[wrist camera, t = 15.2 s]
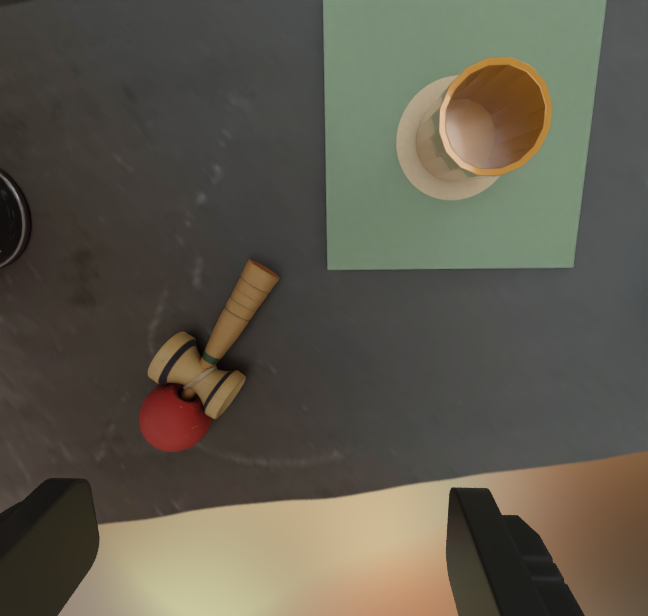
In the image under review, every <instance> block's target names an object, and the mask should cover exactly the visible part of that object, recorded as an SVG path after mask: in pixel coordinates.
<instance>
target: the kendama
mask: <svg viewBox="0 0 648 616" xmlns="http://www.w3.org/2000/svg"><path fill="white" fill-rule="evenodd" d="M279 279H280V278H279V276H278V275H277V274H276V273H274V272H273V271H272V270H270V269H268V268H267V267H265V266H264V265H262V264H260V263H258V262H256V261H254V260H248V261H247V263H246V265H245V268H244V270H243V272H242V274H241V277H240V278H239V280H238V282H237V284H236V287H235V288H234V290H233V292H232V294H231V297H230V298H229V300H228V302H227V303H226V307H224V309H223V311H222V313H221V315H220V317H219V319H218V321H217V323H216V325H215V327H214V329H213V332H212V334H211V336H210V339H209V341H208V343H207V346H206V348H205V351H204V353H203V356H202V358H201V356H200V354H199V352H198V350H197V346H196V340H195V338H194V337H192V336H191V335H189V334H187V333H186V332H183V331H182V332H179V333H177V334H175V335H174V336H172V337H171V338H170V339H169V340H168V341H167V342H166V343H165V344H164V345H163V346H162V347H161V348H160V350H159V351H158V352H157V354H156V355H155V357H154V358H153V360H152V362H151V364H150V366H149V368H148V376H149V377H150V378H151V379H152V380H154V381H155V382H156V383H158V384H162V385H160V386H158V387H157V388H155V389H154V390H152V391H151V392H150V393H149V394H148V396H147V397H146V398H145V400H144V402H143V404H142V406H141V409H140V413H139V425H140V429H141V432H142V434H143V436H144V437H145V439H146V440H147V441H148V442H149V443H150V444H151V445H152V446H154V447H156V448H158V449H160V450H163V451H168V452H178V451H182V450H186V449H188V448H190V447H192V446H194V445H195V444H197V443H198V442H199V441H200V440H201V439H202V438H203V437H204V436H205V434H206V433H207V431H208V429H209V427H210V424H211V420H212V418H213V419H217V418H218V417H219V416H220V415H221V414H222V413H223V412H224V411H225V410H226V409H227V407H228V406H229V405H230V403H231V402H232V401H233V399H234V398H235V397H236V395H237V393H238V392H239V391H240V389H241V387H242V385H243V384H244V382H245V379H246V376H244V375H243V374H242V373H241V372H239V371H238V370H235V371H222V370H218V369H217V367H216V364H217V363H218V361H220V359H221V358H222V357H223V355H224V354H225V353H226V352H227V351H228V349H229V348H230V347H231V346H232V344H233V343H234V342H235V341H236V339H237V338H238V337H239V335H240V334H241V332H242V331H243V330H244V328H245V327H246V325H247V324H248V322H249V320H250V319H251V318H252V317H253V315H254V314H255V312H256V310H257V309H258V308H259V307H260V305H261V304H262V302H263V301H264V299H265V298H266V297H267V295H268V293H269V292H270V291H271V290H272V288H273V287H274V286H275V284H276V283H277V282H278V280H279Z"/></svg>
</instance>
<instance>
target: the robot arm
mask: <svg viewBox="0 0 648 616" xmlns="http://www.w3.org/2000/svg"><path fill="white" fill-rule="evenodd" d="M29 233H30V216H29V211H28V207H27V204H26V202H25V199H24V197H23V195H22V193H21V191H20V190H19V188H18V187H17V185H16V184H15V183H14V182H13V180H12V179H11V178H10V177H9V176H8V175H7V174H6V173H4V172H3V171H2V170H1V169H0V268H1V267H4V266H6V265H8V264H10V263H12V262H13V261H14V260H16V259H17V258H18V257H19V256H20V254H21V253H22V252H23V250H24V248H25V246H26V244H27V242H28V238H29ZM98 548H99V532H98V526H97V520H96V514H95V508H94V503H93V497H92V491H91V487H90V484H89V482H88V481H87V480H86V479H73V478H50V479H47V480H45V481H44V482H43V483H42V484H40V485H39V486H38V487H37V488H36V489H35V490H34V491H33V492H32V493H31V494H30V495H29V496H27V497H26V498H25V499H24V500H23V501H22V502H19V503H17V504H15V505H14V506H12V507H10V508H9V509H7V510H5V511H4V512H2V513H0V616H58V614H59V613H60V611H61V610H62V609H63V607H64V605H65V604H66V603H67V601H68V600H69V598H70V597H71V596H72V594H73V593H74V591H75V590H76V589H77V587H78V585H79V584H80V582H81V581H82V580H83V579H84V577H85V576H86V574H87V573H88V571H89V570H90V568H91V567H92V565H93V563H94V561H95V558H96V555H97V552H98ZM446 560H447V569H448V576H449V581H450V585H451V588H452V592H453V596H454V600H455V603H456V608H457V611H458V615H459V616H585V615H584V614H583V612H582V610H581V608H580V606H579V605H578V603H577V601H576V600H575V598H574V596H573V594H572V593H571V591H570V589H569V587H568V585H567V584H565V583H564V578H563V576H562V575H561V573H560V571H559V569H558V568H557V566H556V564H555V563H553V561H552V557H551V555H550V553H549V552H548V550H547V548H546V546H545V545H544V543H543V541H542V539H541V537H540V536H539V534H537V533H536V532H535V531H534V530H533V529H532V528H531V527H530V526H528V524H527V523H525V522H524V521H523V520H522V519H521V518H520V517H519V516H518V515H501V513H500V510H499V508H498V507H497V504H496V502H495V500H494V498H493V496H492V494H491V492H490V490H489V489H487V488H451V490H450V494H449V508H448V524H447V540H446Z"/></svg>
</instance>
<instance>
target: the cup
mask: <svg viewBox="0 0 648 616" xmlns="http://www.w3.org/2000/svg"><path fill="white" fill-rule="evenodd" d="M551 114H552V101H551V98H550V94H549V91H548V88H547V84H546V82H545V81H544V80H543V78H542V77H541V76H540V75H539V74H538V73H537V72H536V70H535V69H534V68H533V67H532V66H531V65H529V64H526V63H524V62H522V61H519V60H517V59H515V58H512V57H493V58H486V59H484V60H482V61H480V62H478V63H475V64H473V65H471V66H469V67H467V68H466V69H464V71H463V72H462V73H461V74H460V75H459V76H458V77H457V78H456V79H455V80H454V81H453V82H452V83H451V84H450V85H449V87H448V88H447V89H446V90H445V91H444V92H443V93H442V94H441V96H440V97H439V98H438V99H437V100H436V101H435V102H434V104H433V105H432V106H431V107H430V108H429V109H428V110H427V111H426V113H425V114H424V115H423V118H422V119H421V121H420V123H419V126H418V129H417V133H416V151H417V155H418V158H419V160H420V162H421V164H422V165H423V167H424V168H425V169H426V170H427V171H428V172H429V173H430V174H431V175H433V176H434V177H436V178H438V179H441V180H444V181H448V182H457V181H469V180H475V179H482V178H488V177H495V176H501V175H504V174H506V173H508V172H511V171H513V170H515V169H518V168H520V167H522V166H523V165H524V164H525V163H526V162H527V161H529V160H530V159H531V158H532V157H533V156H534V155H535V154H536V153H537V152H538V151H539V150H540V148H541V146H542V144H543V142H544V140H545V138H546V136H547V134H548V132H549V130H550V124H551Z"/></svg>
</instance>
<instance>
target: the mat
mask: <svg viewBox="0 0 648 616" xmlns="http://www.w3.org/2000/svg"><path fill="white" fill-rule="evenodd" d="M606 1H607V0H323V38H324V98H325V159H326V219H327V270H383V269H494V268H573V264H574V256H575V248H576V240H577V232H578V224H579V216H580V208H581V200H582V192H583V184H584V176H585V168H586V160H587V152H588V144H589V136H590V128H591V120H592V112H593V104H594V96H595V89H596V81H597V73H598V65H599V57H600V49H601V41H602V33H603V25H604V17H605V9H606ZM493 57H512V58H515V59H517V60H519V61H522V62H524V63H526V64H529V65H531V66H532V67H533V68H534V69H535V70H536V72H537V73H538V74H539V75H540V76H541V77H542V78H543V80H544V81H545V82H546V84H547V88H548V91H549V94H550V98H551V101H552V114H551V124H550V130H549V132H548V134H547V136H546V138H545V140H544V142H543V144H542V146H541V148H540V150H539V151H538V152H537V153H536V154H535V155H534V156H533V157H532V158H531V159H530V160H529V161H527V162H526V163H525V164H524V165H523V166H522V167H520V168H518V169H515V170H513V171H511V172H508V173H506V174H504V175H501V176H495V177H488V178H482V179H475V180H469V181H457V182H448V181H444V180H441V179H438V178H436V177H434V176H433V175H431V174H430V173H429V172H428V171H427V170H426V169H425V168H424V167H423V165H422V164H421V162H420V160H419V158H418V155H417V151H416V133H417V129H418V126H419V123H420V121H421V119H422V118H423V115H424V114H425V113H426V111H427V110H428V109H429V108H430V107H431V106H432V105H433V104H434V102H435V101H436V100H437V99H438V98H439V97H440V96H441V94H442V93H443V92H444V91H445V90H446V89H447V88H448V87H449V85H450V84H451V83H452V82H453V81H454V80H455V79H456V78H457V77H458V76H459V75H460V74H461V73H462V72H463V71H464V69H466V68H467V67H469V66H471V65H473V64H475V63H478V62H480V61H482V60H484V59H486V58H493Z"/></svg>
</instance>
